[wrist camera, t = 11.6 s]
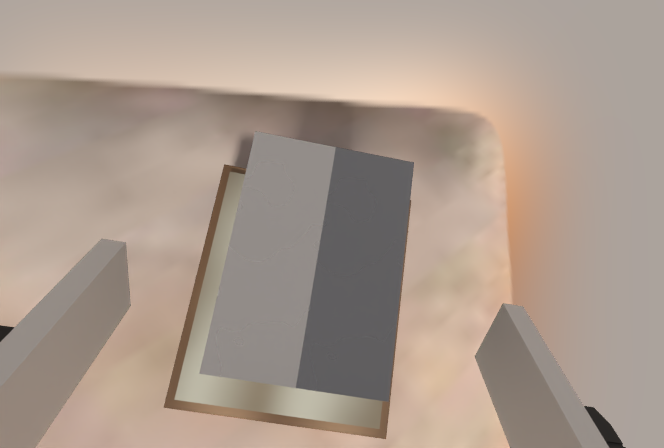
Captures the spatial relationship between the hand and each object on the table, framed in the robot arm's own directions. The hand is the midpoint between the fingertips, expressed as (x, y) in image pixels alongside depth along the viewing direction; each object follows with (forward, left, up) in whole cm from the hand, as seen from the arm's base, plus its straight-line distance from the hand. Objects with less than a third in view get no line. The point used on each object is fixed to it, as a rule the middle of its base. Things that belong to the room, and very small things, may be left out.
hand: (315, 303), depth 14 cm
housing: (0, +1, -9) cm, 9 cm away
